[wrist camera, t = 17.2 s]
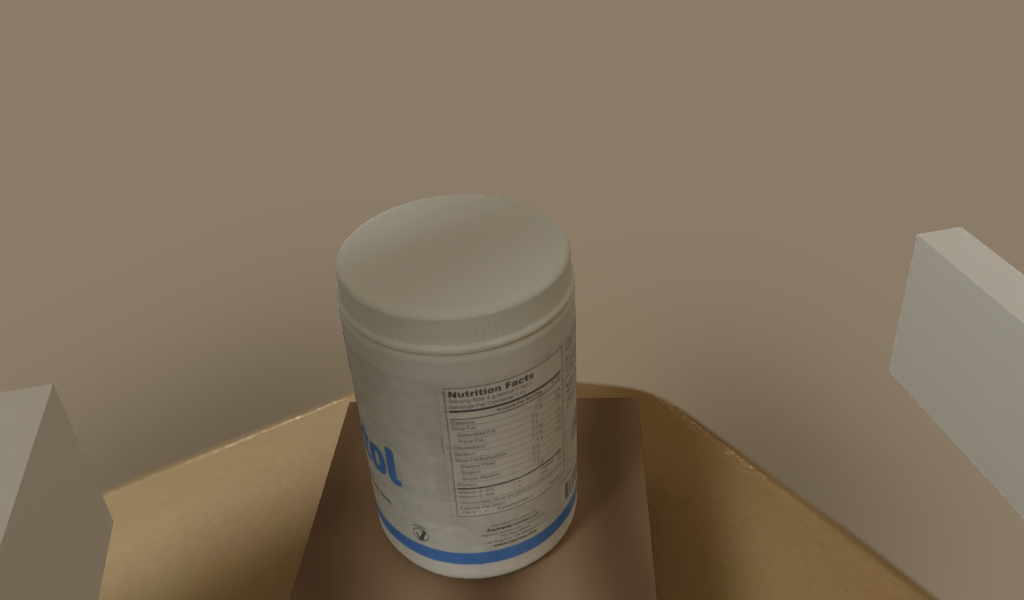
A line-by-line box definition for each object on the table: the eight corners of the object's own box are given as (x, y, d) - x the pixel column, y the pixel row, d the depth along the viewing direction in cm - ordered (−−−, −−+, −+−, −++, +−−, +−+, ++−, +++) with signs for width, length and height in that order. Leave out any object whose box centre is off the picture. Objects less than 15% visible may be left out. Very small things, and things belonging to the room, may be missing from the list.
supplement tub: (351, 485, 46) (294, 230, 38) (516, 416, 50) (497, 169, 41) (434, 626, 39) (386, 348, 31) (620, 533, 42) (621, 262, 34)
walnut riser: (301, 734, 42) (273, 652, 38) (366, 479, 55) (349, 402, 52) (658, 739, 40) (662, 655, 37) (636, 476, 54) (637, 397, 50)
